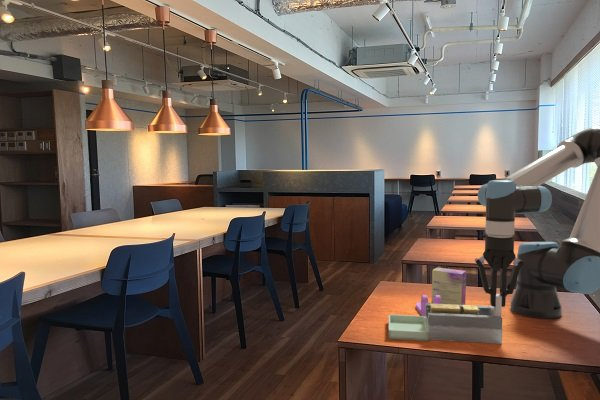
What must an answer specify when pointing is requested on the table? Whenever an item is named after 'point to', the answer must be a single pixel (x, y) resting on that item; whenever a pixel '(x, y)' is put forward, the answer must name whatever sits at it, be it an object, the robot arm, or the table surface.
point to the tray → (408, 327)
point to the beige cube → (470, 310)
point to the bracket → (422, 305)
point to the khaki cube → (437, 308)
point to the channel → (465, 326)
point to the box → (449, 285)
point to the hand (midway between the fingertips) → (497, 317)
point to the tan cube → (452, 309)
